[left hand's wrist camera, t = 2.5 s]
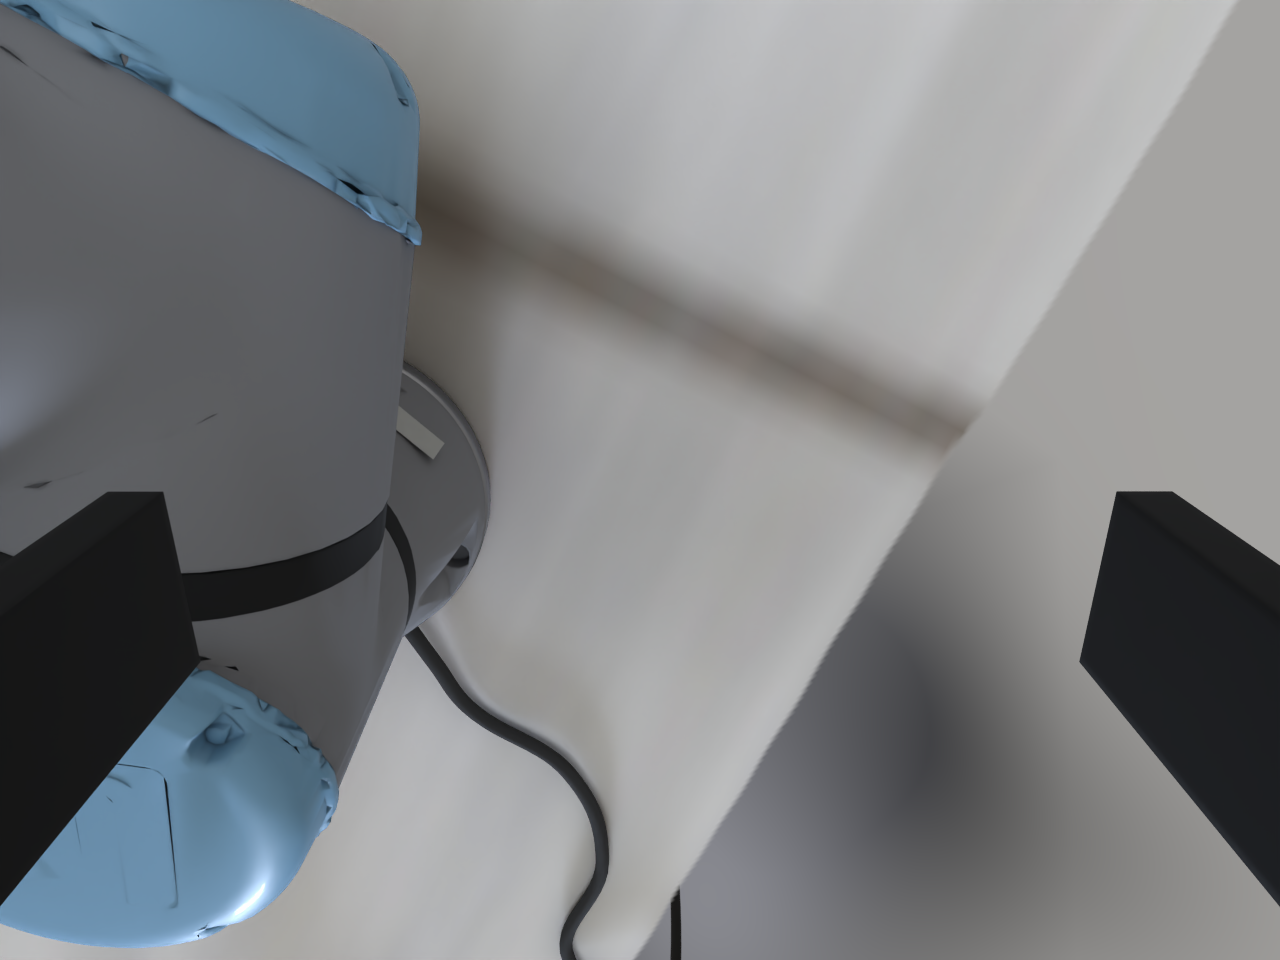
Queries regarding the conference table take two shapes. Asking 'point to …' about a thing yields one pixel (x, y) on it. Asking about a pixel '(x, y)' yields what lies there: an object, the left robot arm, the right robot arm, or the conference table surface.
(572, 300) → the conference table surface
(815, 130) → the conference table surface
